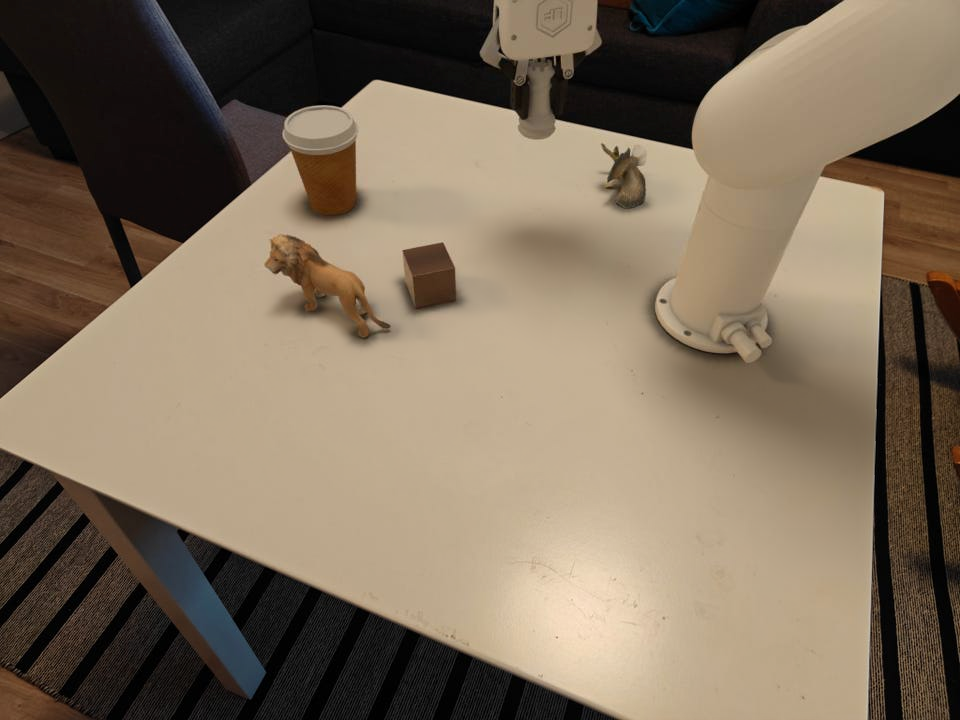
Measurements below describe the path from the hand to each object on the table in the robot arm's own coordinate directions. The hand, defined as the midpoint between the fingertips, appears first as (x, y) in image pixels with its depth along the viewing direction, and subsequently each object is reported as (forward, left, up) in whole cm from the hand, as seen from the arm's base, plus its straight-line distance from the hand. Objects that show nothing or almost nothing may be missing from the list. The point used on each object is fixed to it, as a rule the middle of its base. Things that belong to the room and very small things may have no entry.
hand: (537, 110), depth 74 cm
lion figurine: (-8, +28, -17) cm, 34 cm away
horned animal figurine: (+5, -16, -17) cm, 24 cm away
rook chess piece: (0, 0, -3) cm, 3 cm away
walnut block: (-8, +16, -17) cm, 24 cm away
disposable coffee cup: (+14, +24, -17) cm, 32 cm away
